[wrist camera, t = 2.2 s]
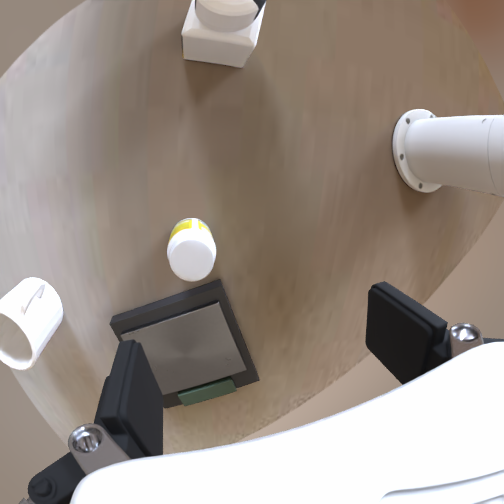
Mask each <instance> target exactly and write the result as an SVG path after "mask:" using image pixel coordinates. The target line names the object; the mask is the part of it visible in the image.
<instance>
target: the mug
mask: <svg viewBox="0 0 504 504" xmlns="http://www.w3.org/2000/svg"><path fill="white" fill-rule="evenodd" d="M62 318H63V308H62V303H61V301H60V298H59V296H58V294H57V293H56V292H55V290H54V289H53V288H52V287H51V286H50V285H49V284H48V283H47V282H45V281H43V280H41V279H39V278H32V277H31V278H27V279H24V280H23V281H22V282H21V283H20V284H18V285H17V286H16V287H15V288H14V289H13V290H11V291H10V292H9V293H8V294H7V295H6V296H4V297H3V298H2V299H1V300H0V360H1V361H2V362H4V363H5V364H7V365H8V366H10V367H12V368H14V369H18V370H28V369H30V368H31V367H33V365H34V364H35V362H36V361H37V359H38V357H39V356H40V354H41V353H42V351H43V349H44V348H45V346H46V345H47V343H48V342H49V340H50V339H51V337H52V336H53V334H54V333H55V331H56V330H57V328H58V327H59V325H60V323H61V322H62Z"/></svg>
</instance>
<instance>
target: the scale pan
mask: <svg viewBox="0 0 504 504" xmlns="http://www.w3.org/2000/svg"><path fill="white" fill-rule="evenodd" d="M121 337H122V339H123V341H126V340H132V339H134V340H135V341H136V343H138V342H140V343H141V345H142V347H143V350H144V352H145V355H146V357H147V360H148V362H149V364H150V367H151V369H152V372H153V374H154V376H155V379H156V381H157V383H158V385H159V388H160V390H161V392H162V395H165V394H169V393H173V392H176V391H180V390H184V389H187V388H191V387H194V386H198V385H201V384H204V383H208V382H211V381H214V380H217V379H221V378H224V377H227V376H230V375H233V374H236V373H239V372H242V371H245V370H247V368H246V365H245V363H244V361H243V358H242V356H241V354H240V351H239V349H238V347H237V344H236V342H235V340H234V337H233V335H232V333H231V330H230V328H229V325H228V323H227V320H226V318H225V316H224V313H223V311H222V308H221V306H220V303H219V301H218V300H216V301H213V302H211V303H208V304H205V305H202V306H199V307H196V308H193V309H190V310H187V311H184V312H181V313H179V314H176V315H173V316H170V317H167V318H164V319H161V320H158V321H155V322H151V323H148V324H145V325H142V326H139V327H136V328H133V329H130V330H127V331H124V332H121Z"/></svg>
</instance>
